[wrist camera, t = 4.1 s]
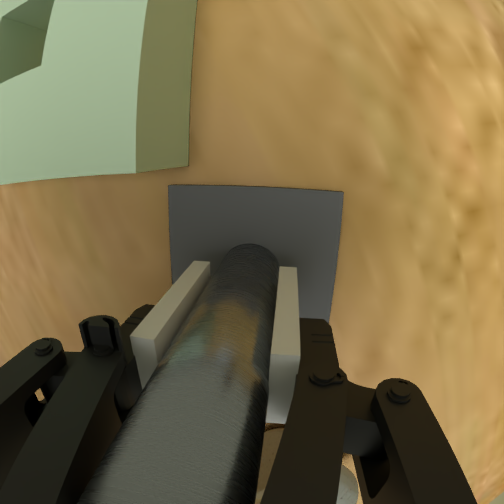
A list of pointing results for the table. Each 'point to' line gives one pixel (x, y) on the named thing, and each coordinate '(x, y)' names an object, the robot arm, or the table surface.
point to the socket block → (94, 87)
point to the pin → (202, 399)
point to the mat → (261, 232)
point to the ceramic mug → (270, 446)
